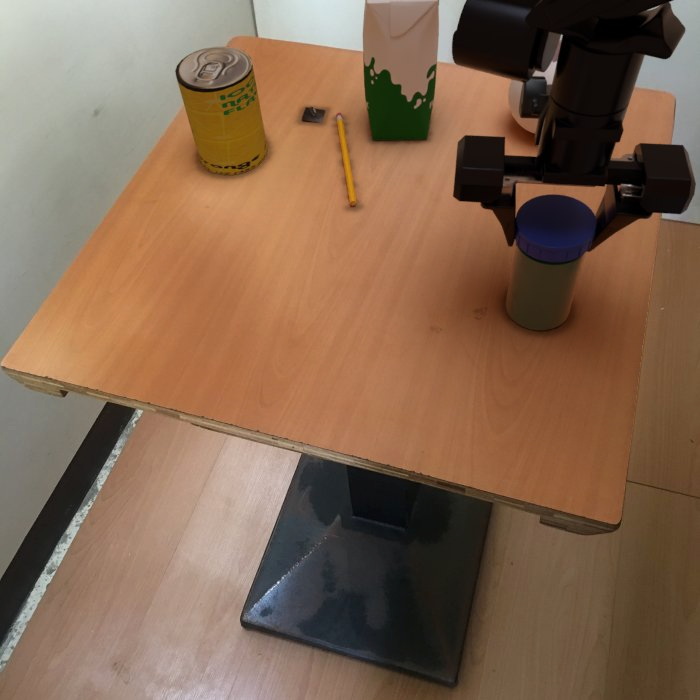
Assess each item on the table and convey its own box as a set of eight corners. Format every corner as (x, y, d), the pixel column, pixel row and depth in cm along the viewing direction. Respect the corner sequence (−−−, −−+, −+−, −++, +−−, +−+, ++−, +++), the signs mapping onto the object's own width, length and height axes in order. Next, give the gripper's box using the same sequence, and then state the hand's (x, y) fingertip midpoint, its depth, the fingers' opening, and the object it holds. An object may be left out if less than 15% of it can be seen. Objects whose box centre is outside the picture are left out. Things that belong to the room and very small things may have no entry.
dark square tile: (325, 110, 89) (325, 102, 88) (321, 123, 88) (321, 115, 87) (305, 107, 90) (305, 99, 89) (300, 120, 88) (300, 112, 87)
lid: (610, 235, 58) (614, 220, 56) (556, 275, 56) (559, 260, 54) (549, 198, 62) (552, 183, 60) (496, 234, 59) (498, 220, 58)
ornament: (555, 161, 81) (578, 72, 71) (488, 130, 85) (501, 42, 75) (598, 123, 85) (625, 33, 75) (531, 95, 89) (549, 7, 79)
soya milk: (434, 144, 84) (445, -18, 68) (364, 145, 84) (359, -15, 68) (431, 105, 89) (441, -54, 73) (366, 106, 90) (361, -51, 73)
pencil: (342, 116, 88) (341, 112, 88) (356, 205, 77) (356, 200, 77) (336, 117, 88) (335, 112, 87) (350, 205, 77) (349, 201, 77)
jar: (564, 282, 68) (584, 203, 60) (574, 330, 65) (597, 252, 56) (502, 284, 69) (514, 206, 60) (508, 331, 65) (521, 255, 56)
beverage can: (274, 133, 87) (260, 47, 77) (258, 177, 81) (241, 90, 72) (210, 130, 88) (188, 45, 78) (191, 172, 83) (164, 87, 73)
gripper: (704, 41, 51) (642, 195, 64) (467, 35, 54) (453, 184, 66) (731, 124, 45) (657, 277, 57) (461, 113, 47) (446, 262, 60)
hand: (548, 245), depth 60 cm, fingers closed on lid, 7 cm apart
